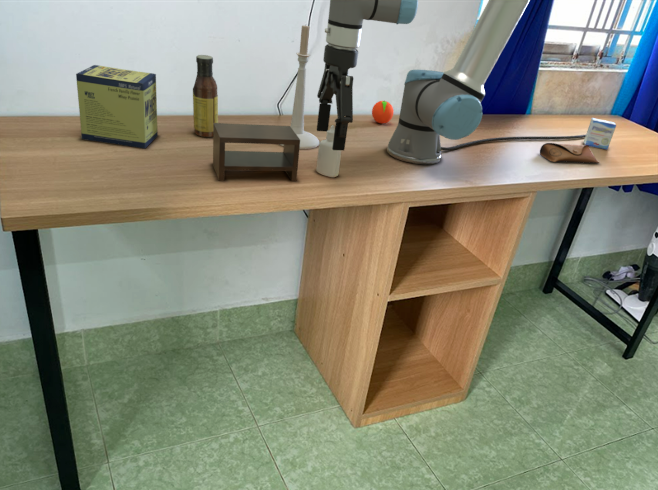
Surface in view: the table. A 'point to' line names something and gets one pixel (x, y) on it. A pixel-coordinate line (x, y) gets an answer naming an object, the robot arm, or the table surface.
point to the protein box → (117, 106)
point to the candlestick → (302, 96)
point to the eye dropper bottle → (328, 156)
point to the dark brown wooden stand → (251, 158)
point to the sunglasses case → (567, 153)
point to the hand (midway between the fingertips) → (329, 140)
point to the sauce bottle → (205, 97)
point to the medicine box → (599, 133)
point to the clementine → (382, 112)
